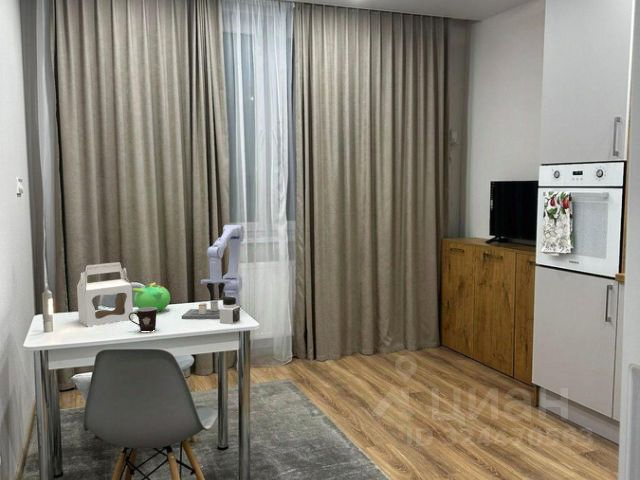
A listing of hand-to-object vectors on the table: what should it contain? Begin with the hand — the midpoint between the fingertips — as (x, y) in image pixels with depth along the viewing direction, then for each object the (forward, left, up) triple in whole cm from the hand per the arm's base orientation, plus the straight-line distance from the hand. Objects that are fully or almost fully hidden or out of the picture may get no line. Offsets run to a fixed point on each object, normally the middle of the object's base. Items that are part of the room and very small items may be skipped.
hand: (216, 298), depth 285 cm
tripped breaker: (0, -7, -8) cm, 10 cm away
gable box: (+8, -52, -10) cm, 54 cm away
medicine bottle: (+9, +9, -10) cm, 16 cm away
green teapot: (-11, -36, -10) cm, 39 cm away
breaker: (-7, -3, -8) cm, 11 cm away
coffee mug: (+26, -26, -10) cm, 38 cm away
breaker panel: (-3, -7, -9) cm, 12 cm away
